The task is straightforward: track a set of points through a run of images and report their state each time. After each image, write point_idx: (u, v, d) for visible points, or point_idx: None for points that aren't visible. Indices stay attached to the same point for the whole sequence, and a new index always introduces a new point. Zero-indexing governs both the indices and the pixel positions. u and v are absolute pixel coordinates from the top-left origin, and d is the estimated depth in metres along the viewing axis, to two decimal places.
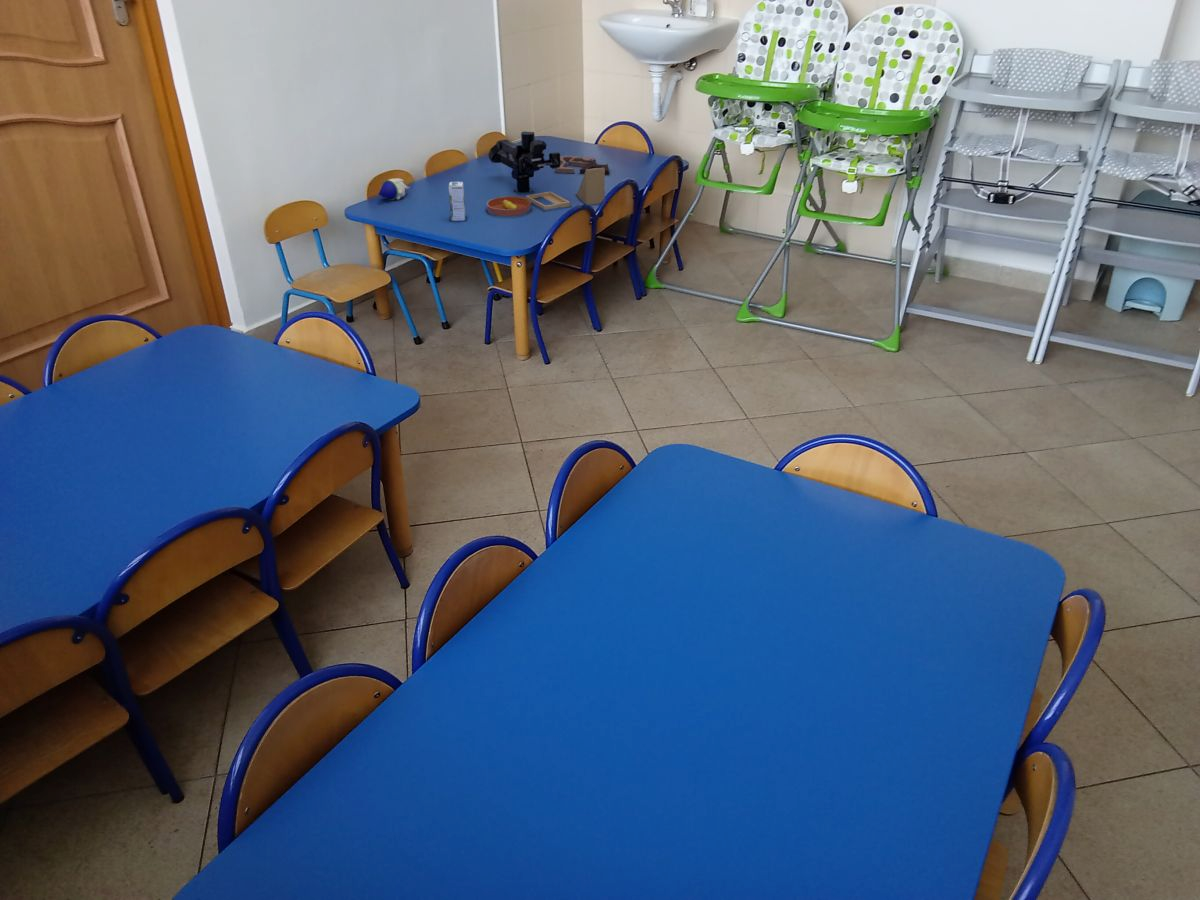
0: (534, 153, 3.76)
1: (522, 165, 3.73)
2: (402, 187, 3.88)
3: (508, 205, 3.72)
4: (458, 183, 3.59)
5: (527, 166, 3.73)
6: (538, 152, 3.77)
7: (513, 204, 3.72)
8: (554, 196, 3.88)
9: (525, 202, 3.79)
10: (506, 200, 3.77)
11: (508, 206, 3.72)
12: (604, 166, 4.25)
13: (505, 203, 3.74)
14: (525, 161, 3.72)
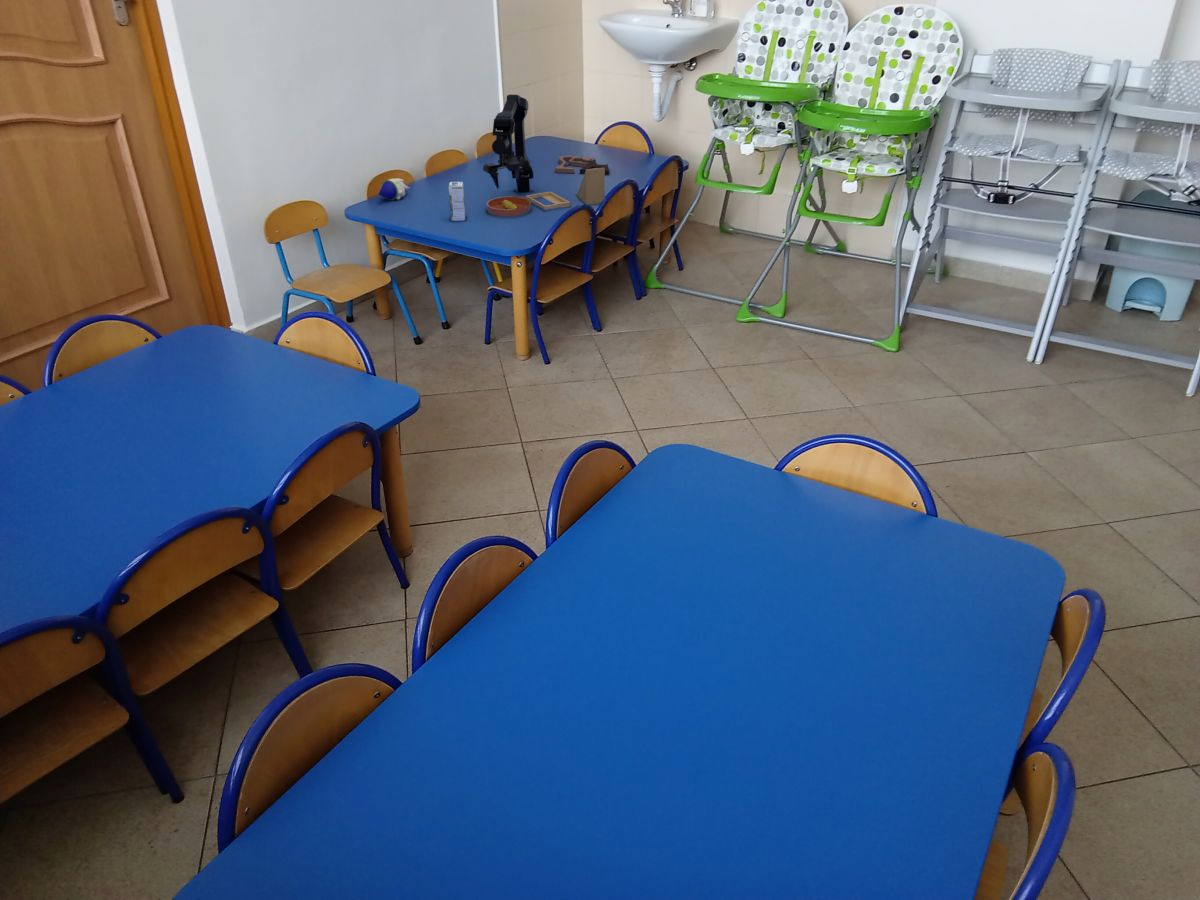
0: None
1: None
2: (402, 187, 3.88)
3: (508, 205, 3.72)
4: (458, 183, 3.59)
5: None
6: None
7: (513, 204, 3.72)
8: (554, 196, 3.88)
9: (525, 202, 3.79)
10: (506, 200, 3.77)
11: (508, 206, 3.72)
12: (604, 166, 4.25)
13: (505, 203, 3.74)
14: None
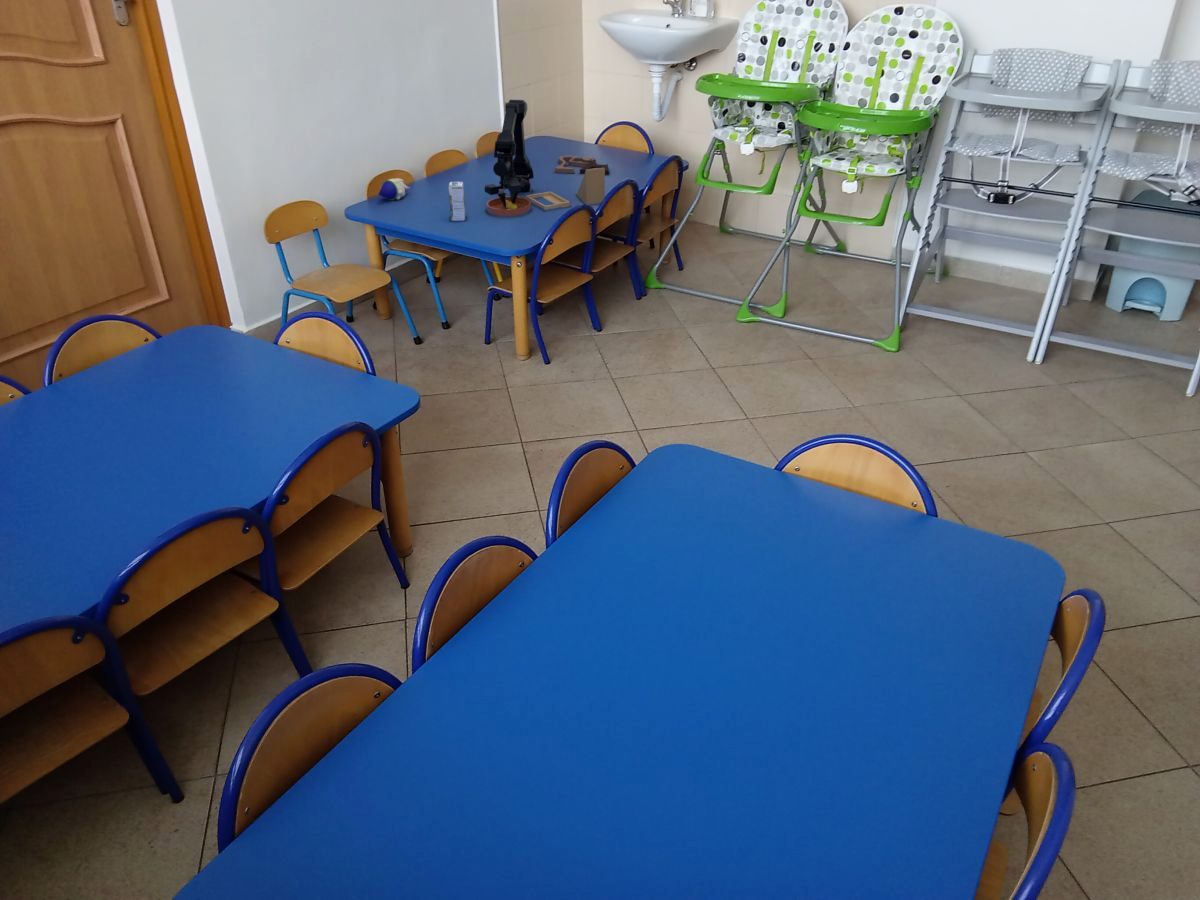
0: None
1: None
2: (402, 187, 3.88)
3: (508, 205, 3.72)
4: (458, 183, 3.59)
5: None
6: None
7: (513, 204, 3.72)
8: (554, 196, 3.88)
9: (525, 202, 3.79)
10: (506, 200, 3.77)
11: (508, 206, 3.72)
12: (604, 166, 4.25)
13: None
14: None
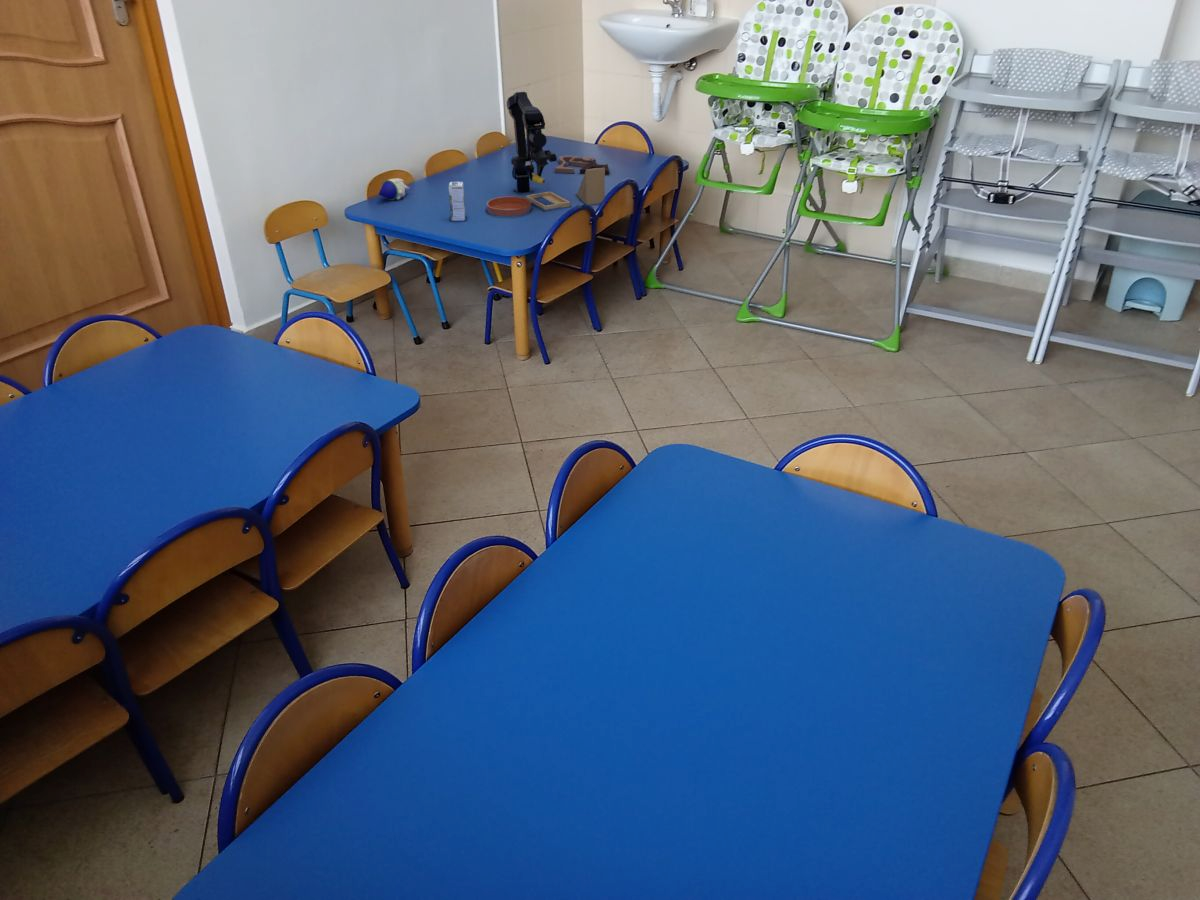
0: None
1: None
2: (402, 187, 3.88)
3: (534, 178, 3.73)
4: (458, 183, 3.59)
5: None
6: None
7: (539, 177, 3.73)
8: (554, 196, 3.88)
9: (525, 202, 3.79)
10: (532, 173, 3.77)
11: (534, 179, 3.73)
12: (604, 166, 4.25)
13: None
14: (526, 166, 3.69)
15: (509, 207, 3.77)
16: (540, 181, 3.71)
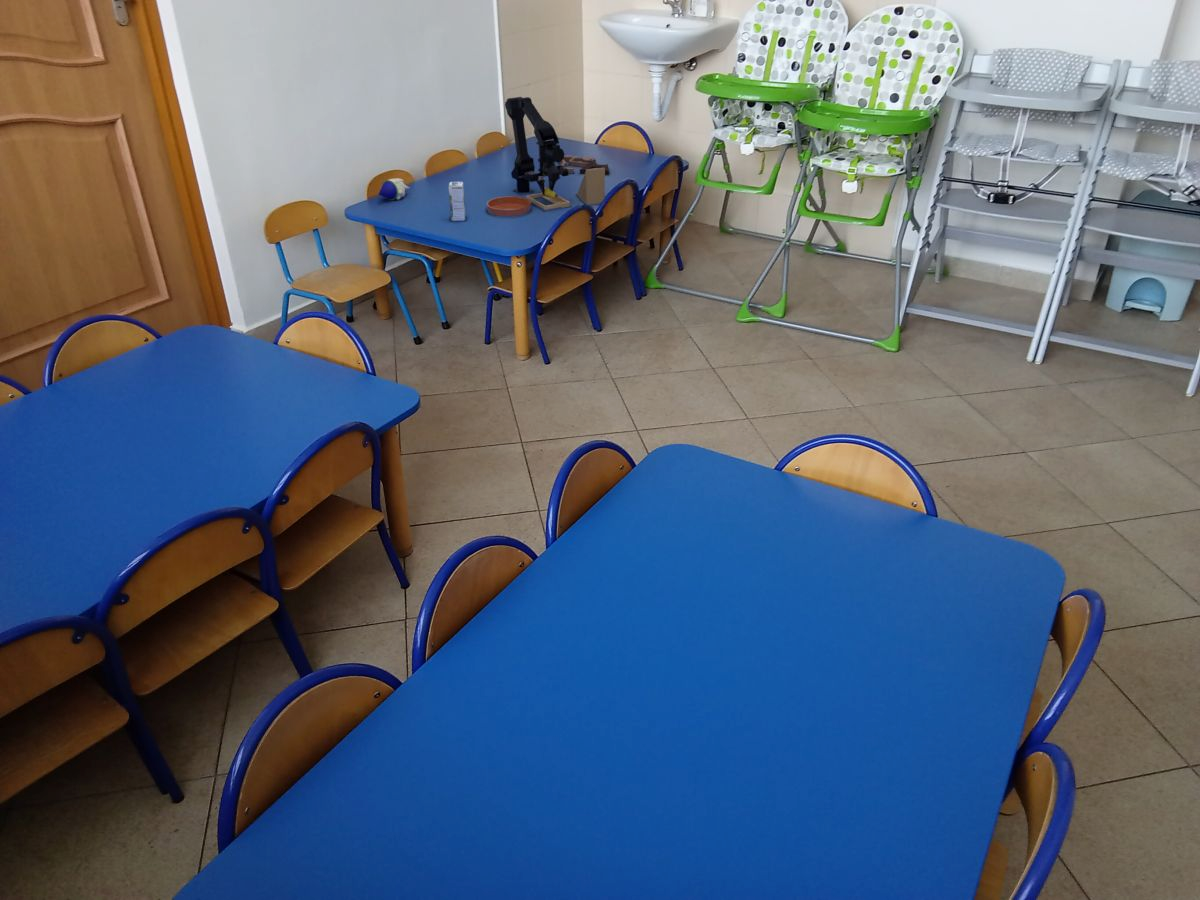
0: None
1: None
2: (402, 187, 3.88)
3: (547, 192, 3.79)
4: (458, 183, 3.59)
5: None
6: None
7: (552, 191, 3.79)
8: None
9: (525, 202, 3.79)
10: (544, 187, 3.83)
11: (547, 193, 3.79)
12: (604, 166, 4.25)
13: None
14: None
15: (509, 207, 3.77)
16: (553, 195, 3.78)
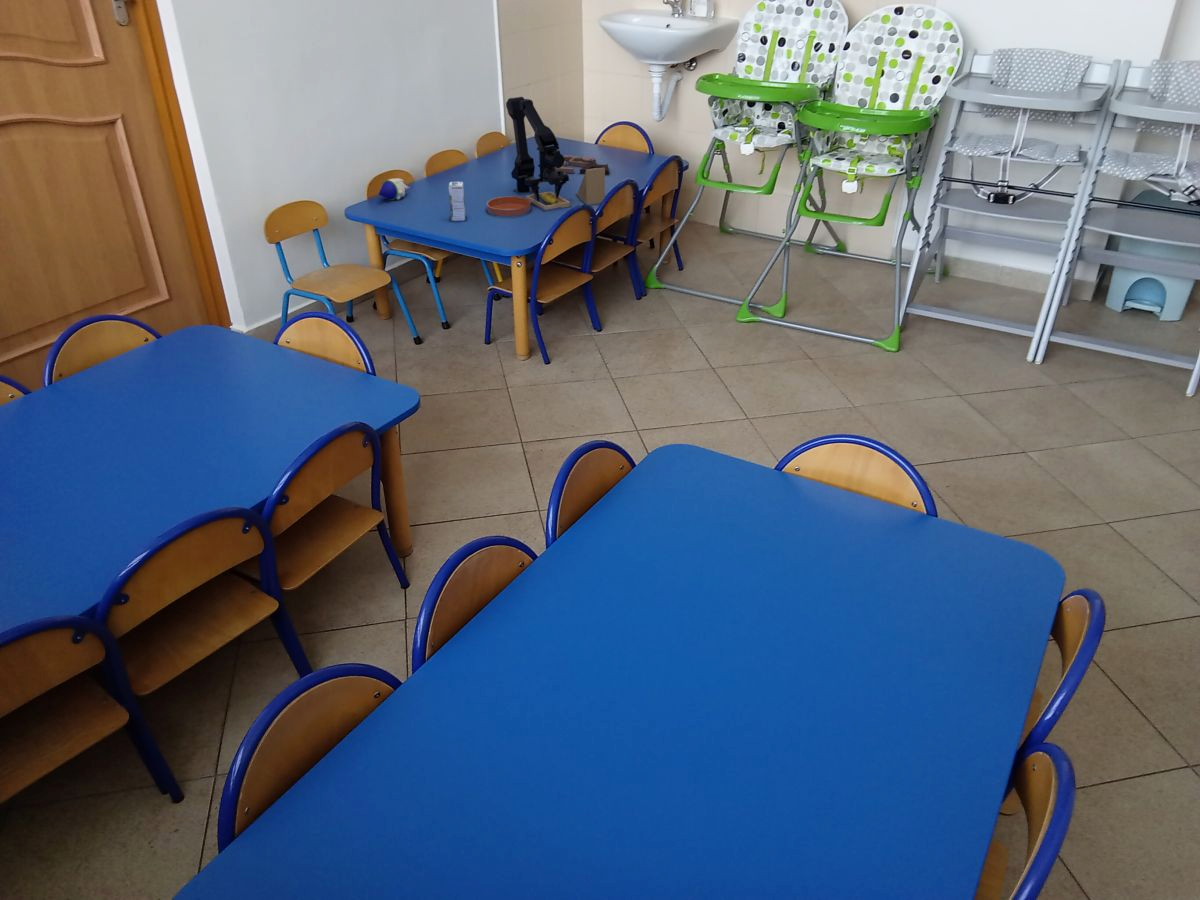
0: None
1: None
2: (402, 187, 3.88)
3: (547, 198, 3.80)
4: (458, 183, 3.59)
5: None
6: None
7: (552, 197, 3.80)
8: (554, 196, 3.88)
9: (525, 202, 3.79)
10: None
11: (547, 199, 3.81)
12: (604, 166, 4.25)
13: (544, 196, 3.82)
14: None
15: (509, 207, 3.77)
16: (553, 202, 3.79)
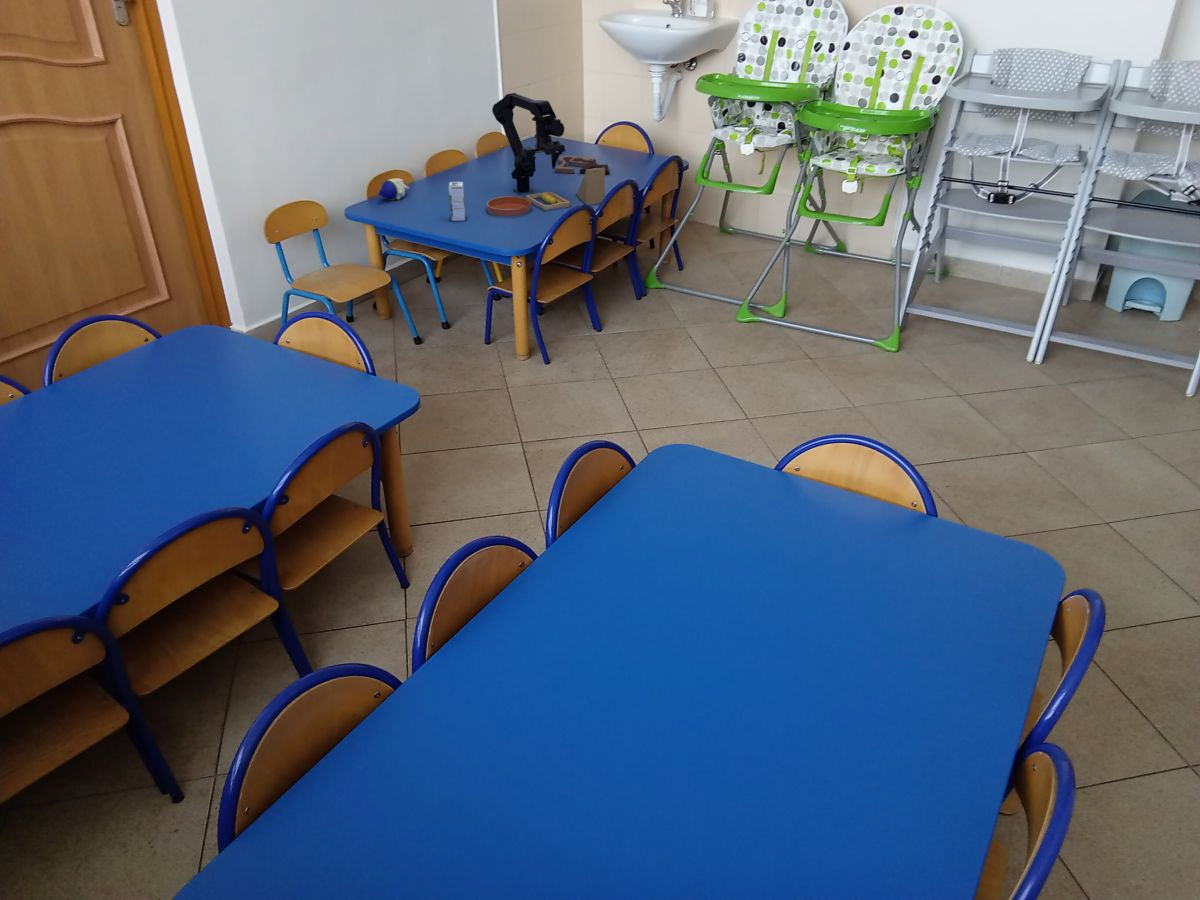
0: None
1: None
2: (402, 187, 3.88)
3: (547, 198, 3.80)
4: (458, 183, 3.59)
5: None
6: None
7: (552, 197, 3.80)
8: (554, 196, 3.88)
9: (525, 202, 3.79)
10: None
11: (547, 199, 3.81)
12: (604, 166, 4.25)
13: (544, 196, 3.82)
14: None
15: (509, 207, 3.77)
16: (553, 202, 3.79)
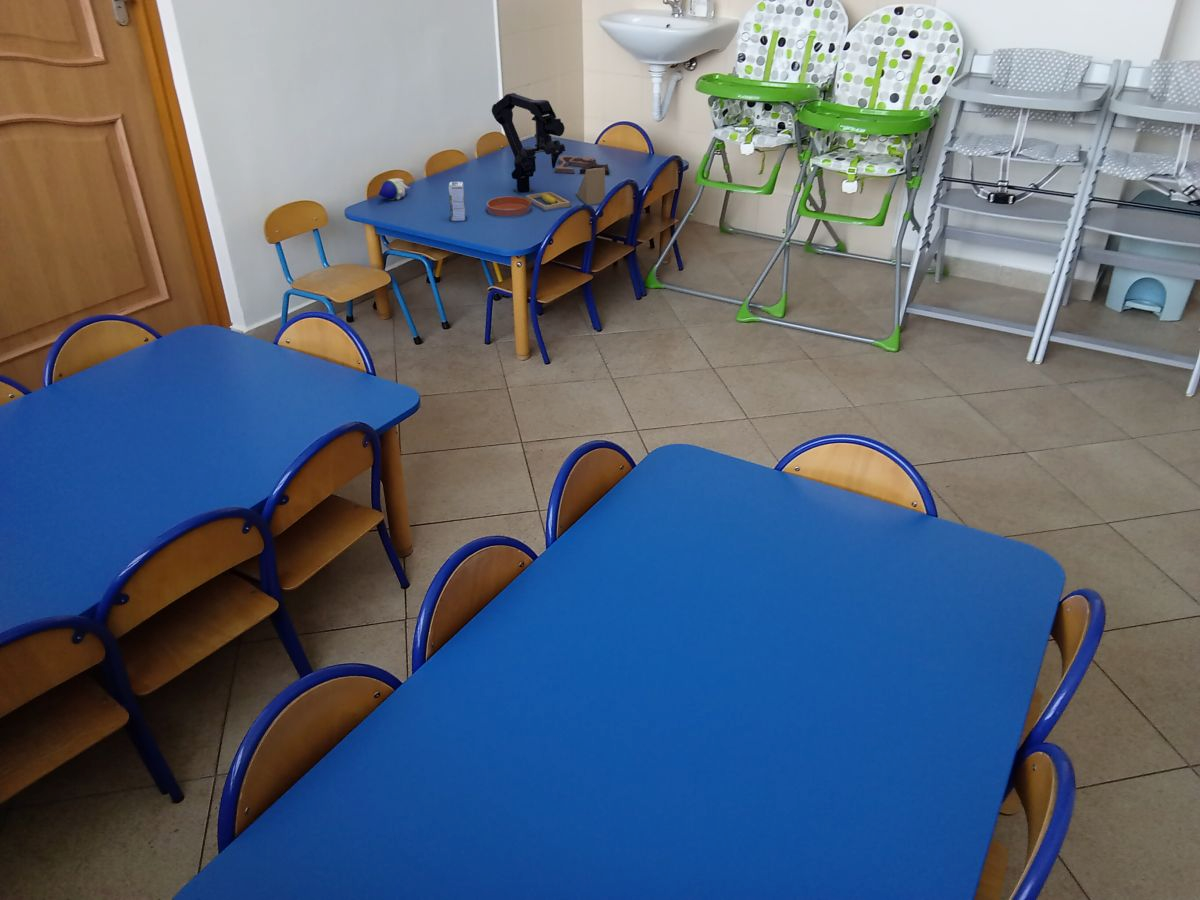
0: None
1: None
2: (402, 187, 3.88)
3: (547, 198, 3.80)
4: (458, 183, 3.59)
5: None
6: None
7: (552, 197, 3.80)
8: (554, 196, 3.88)
9: (525, 202, 3.79)
10: None
11: (547, 199, 3.81)
12: (604, 166, 4.25)
13: (544, 196, 3.82)
14: (529, 157, 3.76)
15: (509, 207, 3.77)
16: (553, 202, 3.79)
